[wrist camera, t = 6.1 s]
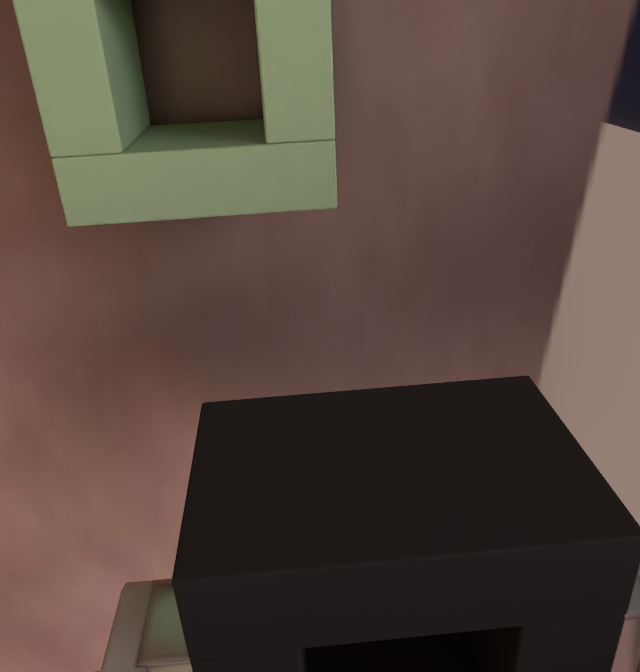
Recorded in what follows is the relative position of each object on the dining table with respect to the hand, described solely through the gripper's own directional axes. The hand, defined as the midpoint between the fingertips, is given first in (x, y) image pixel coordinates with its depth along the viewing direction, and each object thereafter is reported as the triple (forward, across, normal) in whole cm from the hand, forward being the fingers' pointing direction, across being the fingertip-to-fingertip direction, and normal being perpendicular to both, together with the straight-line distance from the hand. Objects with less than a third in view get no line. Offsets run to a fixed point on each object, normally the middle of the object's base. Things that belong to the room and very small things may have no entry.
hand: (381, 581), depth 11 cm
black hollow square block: (+2, 0, 0) cm, 2 cm away
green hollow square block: (+10, +3, -8) cm, 13 cm away
